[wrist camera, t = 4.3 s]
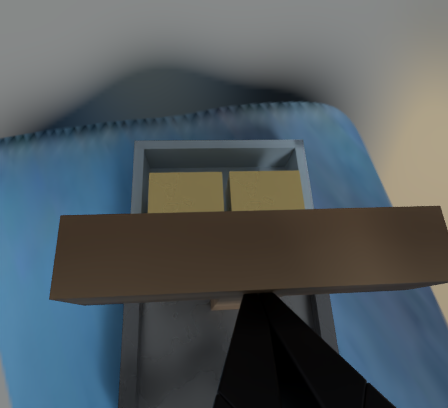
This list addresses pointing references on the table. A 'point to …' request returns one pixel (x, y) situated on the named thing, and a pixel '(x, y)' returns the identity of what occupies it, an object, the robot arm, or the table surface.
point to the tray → (215, 162)
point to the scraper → (247, 254)
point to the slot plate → (191, 348)
